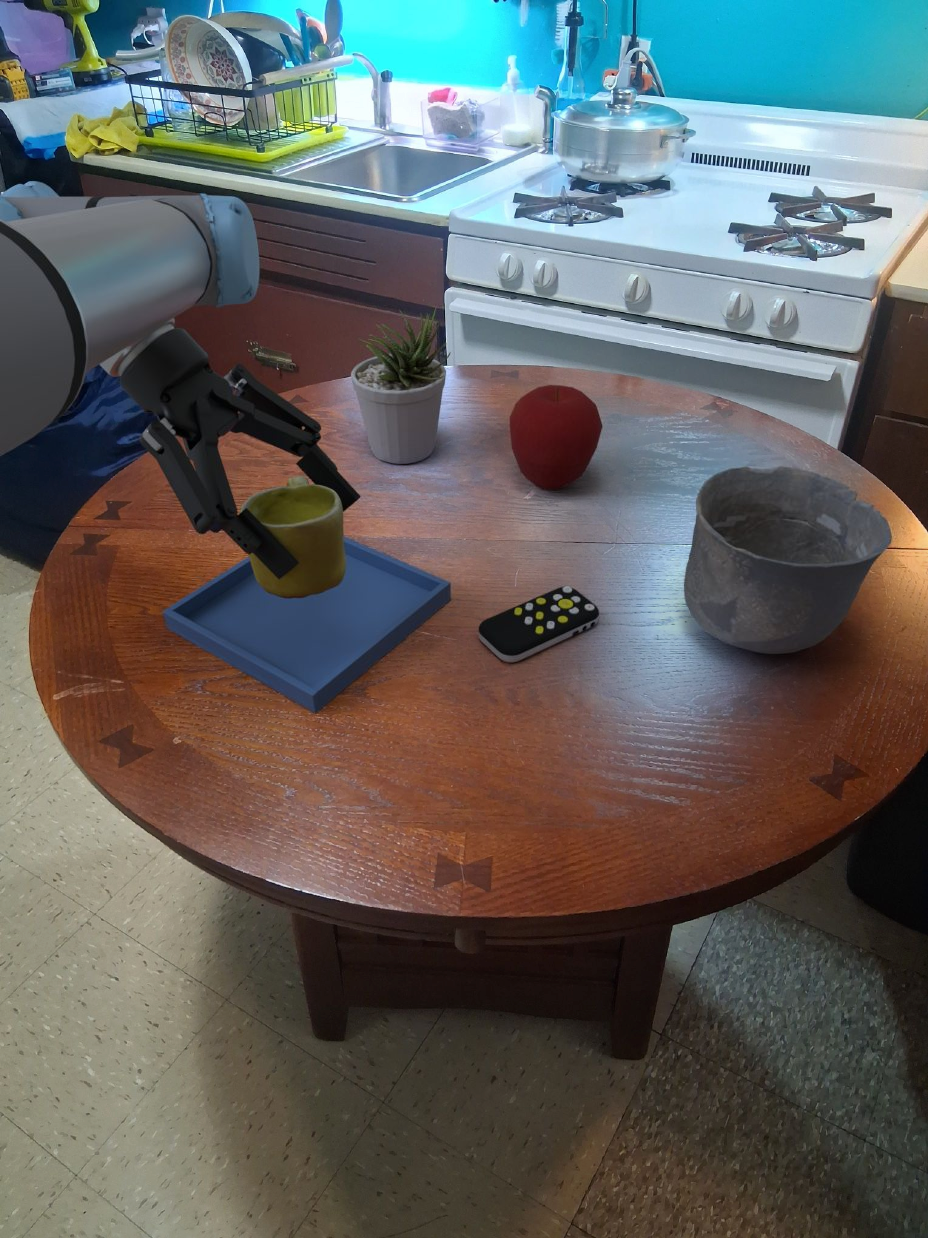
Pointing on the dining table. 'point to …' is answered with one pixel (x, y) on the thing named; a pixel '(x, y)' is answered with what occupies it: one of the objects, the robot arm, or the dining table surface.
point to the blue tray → (310, 623)
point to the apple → (554, 435)
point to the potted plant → (401, 395)
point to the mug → (301, 537)
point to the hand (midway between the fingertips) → (322, 536)
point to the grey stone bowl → (778, 557)
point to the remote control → (538, 624)
